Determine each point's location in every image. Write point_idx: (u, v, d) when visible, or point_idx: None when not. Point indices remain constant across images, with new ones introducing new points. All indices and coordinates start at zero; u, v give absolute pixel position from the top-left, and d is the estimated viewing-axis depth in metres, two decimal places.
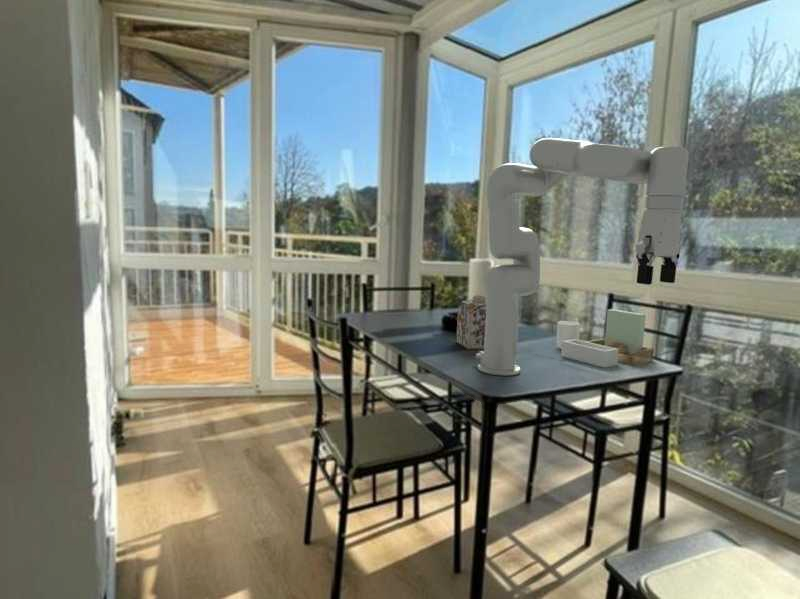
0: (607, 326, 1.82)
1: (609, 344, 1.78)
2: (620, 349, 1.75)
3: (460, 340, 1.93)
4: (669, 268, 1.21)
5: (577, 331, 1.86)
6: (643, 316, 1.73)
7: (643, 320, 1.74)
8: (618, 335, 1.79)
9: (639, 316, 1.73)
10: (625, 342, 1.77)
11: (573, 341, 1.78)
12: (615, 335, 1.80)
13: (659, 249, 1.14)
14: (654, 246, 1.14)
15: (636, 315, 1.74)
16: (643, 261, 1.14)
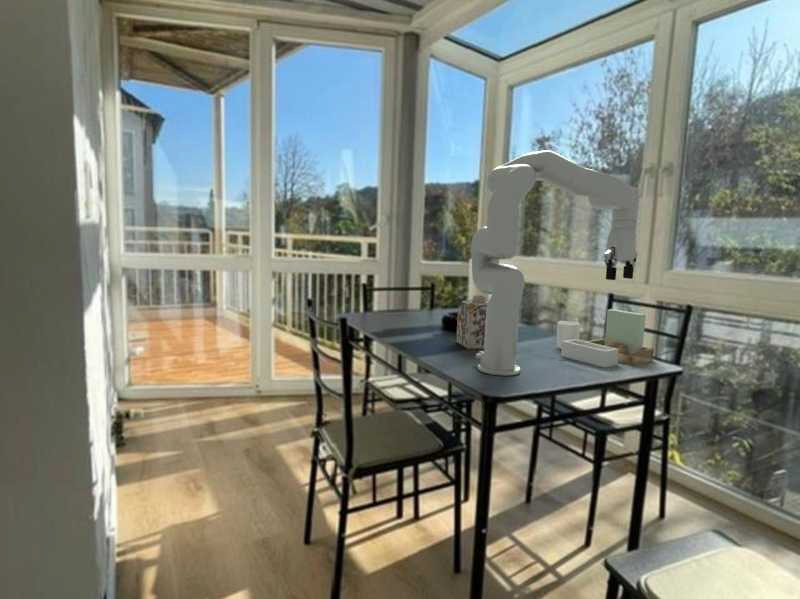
0: (607, 326, 1.82)
1: (609, 344, 1.78)
2: (620, 349, 1.75)
3: (460, 340, 1.93)
4: (629, 268, 1.76)
5: (577, 331, 1.86)
6: (643, 316, 1.73)
7: (643, 320, 1.74)
8: (618, 335, 1.79)
9: (639, 316, 1.73)
10: (625, 342, 1.77)
11: (573, 341, 1.78)
12: (615, 335, 1.80)
13: (620, 256, 1.69)
14: (616, 254, 1.69)
15: (636, 315, 1.74)
16: (609, 264, 1.69)
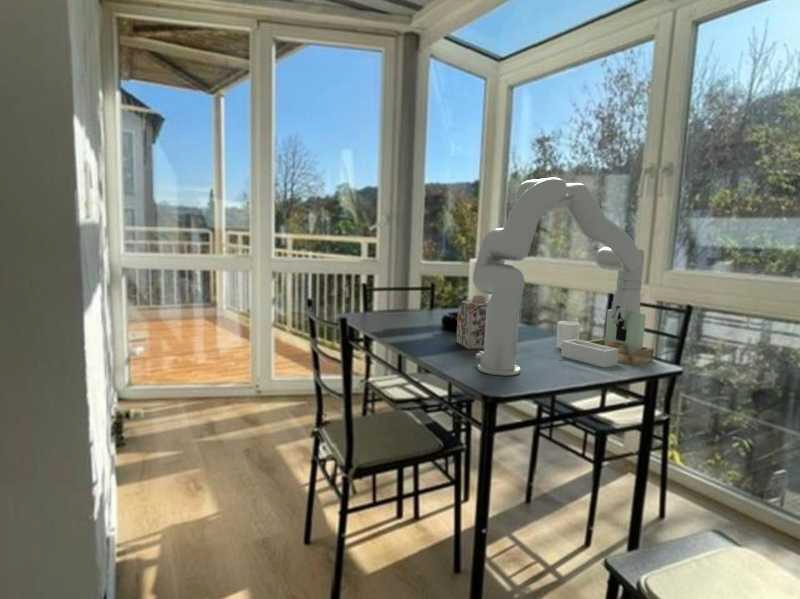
0: (607, 326, 1.82)
1: (609, 344, 1.78)
2: (620, 349, 1.75)
3: (460, 340, 1.93)
4: None
5: (577, 331, 1.86)
6: (643, 316, 1.73)
7: (643, 320, 1.74)
8: None
9: (639, 316, 1.73)
10: (625, 342, 1.77)
11: (573, 341, 1.78)
12: (615, 335, 1.80)
13: (625, 315, 1.74)
14: (622, 313, 1.74)
15: (636, 315, 1.74)
16: (619, 326, 1.76)
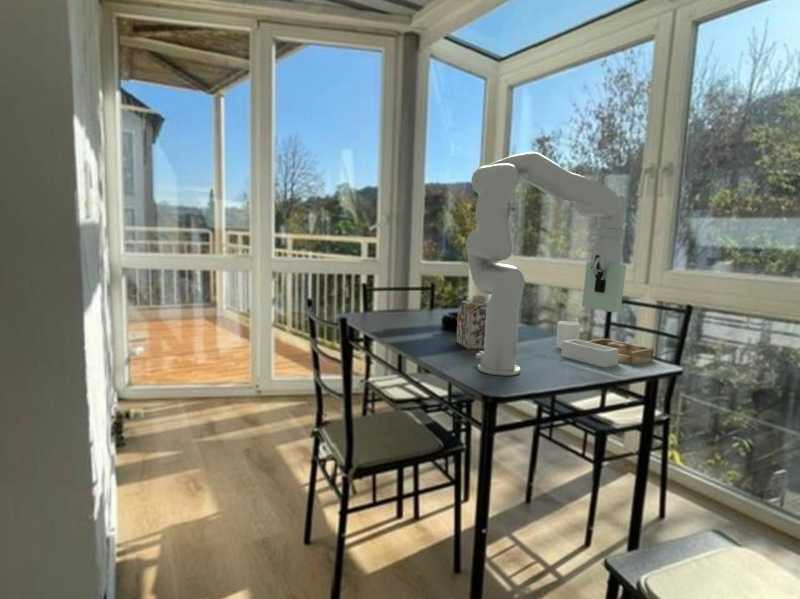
0: (586, 278, 1.74)
1: (608, 344, 1.78)
2: (619, 349, 1.75)
3: (460, 340, 1.93)
4: None
5: (577, 331, 1.86)
6: (623, 266, 1.65)
7: (623, 270, 1.66)
8: None
9: (619, 266, 1.65)
10: (604, 295, 1.69)
11: (573, 341, 1.78)
12: (594, 288, 1.72)
13: (604, 264, 1.66)
14: (601, 262, 1.66)
15: (616, 265, 1.66)
16: (598, 277, 1.68)
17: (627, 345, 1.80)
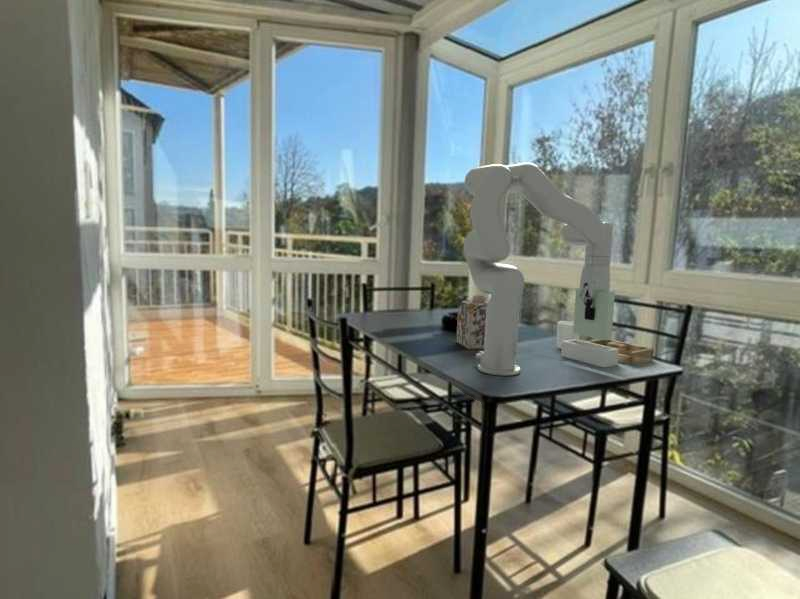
0: (576, 305, 1.74)
1: (608, 344, 1.78)
2: (619, 349, 1.75)
3: (460, 340, 1.93)
4: None
5: None
6: (612, 293, 1.65)
7: (612, 298, 1.65)
8: None
9: (608, 293, 1.64)
10: (594, 322, 1.69)
11: (573, 341, 1.78)
12: (584, 315, 1.71)
13: (593, 293, 1.65)
14: (590, 291, 1.65)
15: (605, 292, 1.65)
16: (588, 304, 1.67)
17: (627, 345, 1.80)
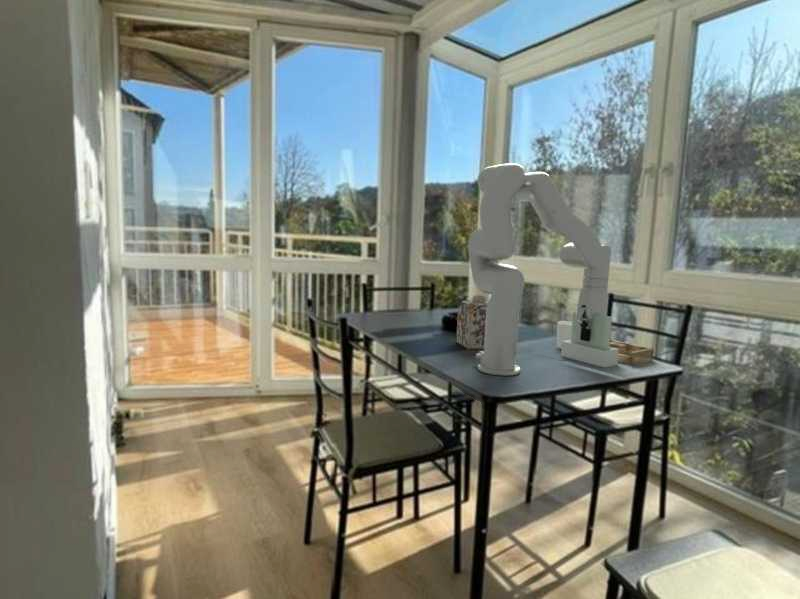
0: (573, 329, 1.75)
1: None
2: (619, 349, 1.75)
3: (460, 340, 1.93)
4: None
5: None
6: (609, 319, 1.66)
7: (609, 323, 1.66)
8: None
9: (604, 319, 1.65)
10: (590, 346, 1.70)
11: None
12: None
13: (591, 314, 1.66)
14: (587, 313, 1.66)
15: (601, 318, 1.66)
16: (583, 326, 1.68)
17: (627, 345, 1.80)
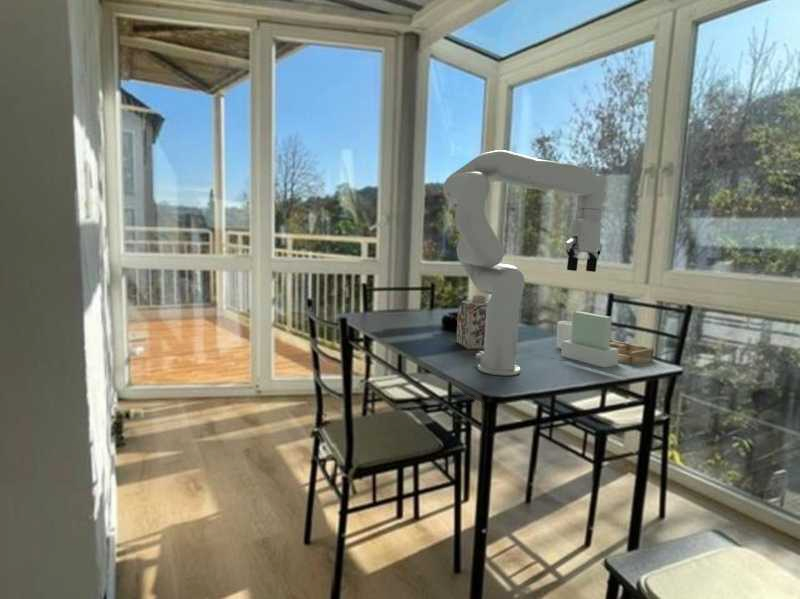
0: (573, 329, 1.75)
1: None
2: (619, 349, 1.75)
3: (460, 340, 1.93)
4: (592, 261, 1.68)
5: None
6: (609, 319, 1.66)
7: (609, 323, 1.66)
8: (584, 338, 1.71)
9: (604, 319, 1.65)
10: (590, 346, 1.70)
11: None
12: (581, 339, 1.72)
13: (582, 246, 1.62)
14: (579, 243, 1.61)
15: (601, 318, 1.66)
16: (571, 254, 1.62)
17: (627, 345, 1.80)
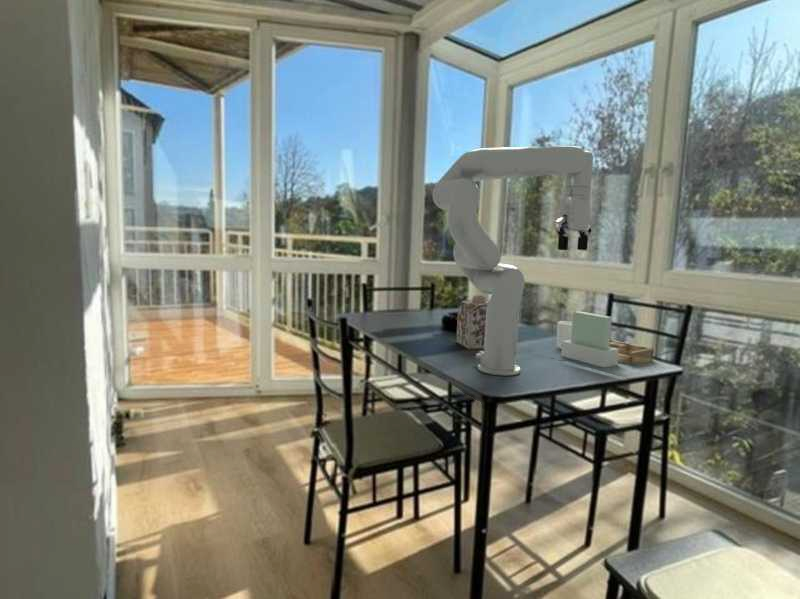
0: (573, 329, 1.75)
1: None
2: (619, 349, 1.75)
3: (460, 340, 1.93)
4: (583, 239, 1.66)
5: None
6: (609, 319, 1.66)
7: (609, 323, 1.66)
8: (584, 338, 1.71)
9: (604, 319, 1.65)
10: (590, 346, 1.70)
11: None
12: (581, 339, 1.72)
13: (572, 224, 1.60)
14: (568, 222, 1.59)
15: (601, 318, 1.66)
16: (561, 233, 1.60)
17: (627, 345, 1.80)
